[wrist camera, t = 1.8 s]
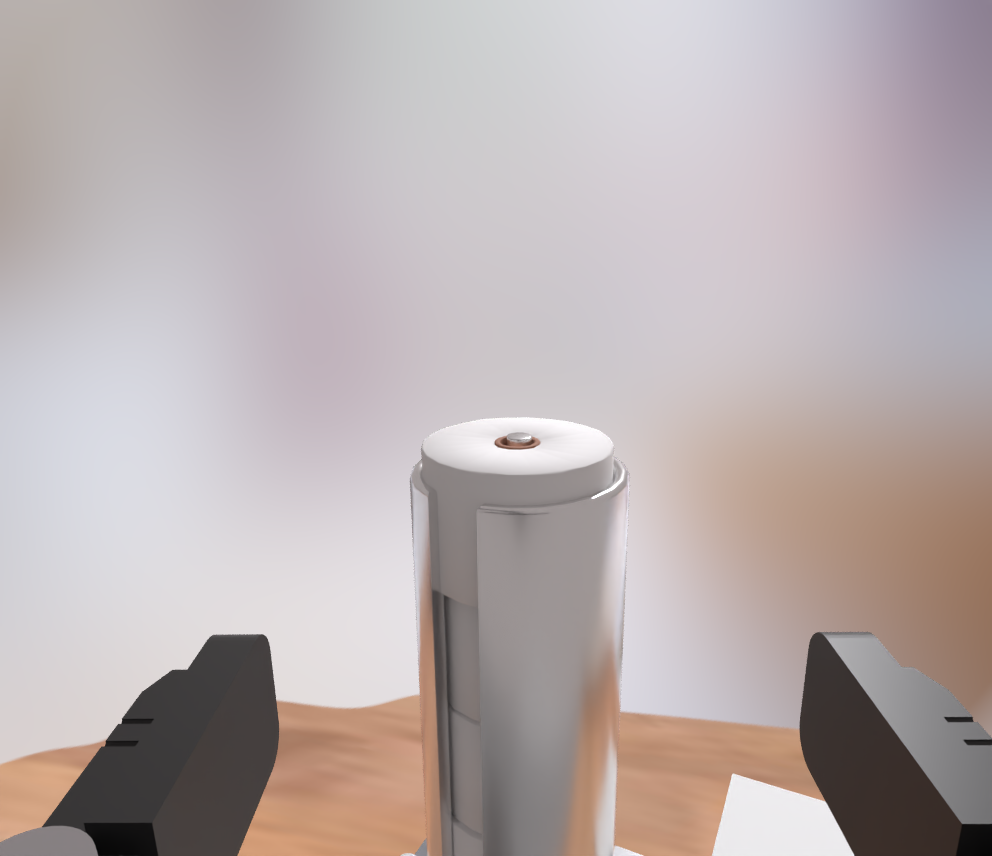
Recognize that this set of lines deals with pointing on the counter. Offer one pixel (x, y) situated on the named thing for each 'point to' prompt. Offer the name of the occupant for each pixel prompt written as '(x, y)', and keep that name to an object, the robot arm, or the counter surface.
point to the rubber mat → (776, 823)
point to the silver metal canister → (520, 636)
